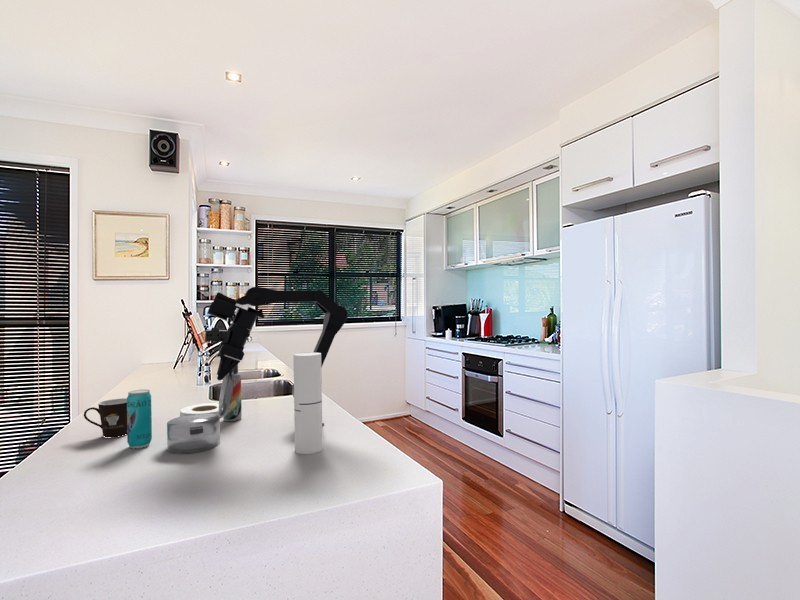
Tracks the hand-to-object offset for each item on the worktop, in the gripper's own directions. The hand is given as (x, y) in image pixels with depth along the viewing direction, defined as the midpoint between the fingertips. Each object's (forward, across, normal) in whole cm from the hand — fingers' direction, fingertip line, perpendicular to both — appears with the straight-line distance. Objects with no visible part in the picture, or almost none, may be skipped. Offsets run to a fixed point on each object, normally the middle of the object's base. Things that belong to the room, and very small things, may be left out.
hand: (218, 377), depth 125 cm
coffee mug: (+28, -18, -20) cm, 39 cm away
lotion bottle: (+14, -21, +11) cm, 28 cm away
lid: (+2, +3, +2) cm, 4 cm away
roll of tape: (+18, -32, +3) cm, 37 cm away
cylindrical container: (+7, +21, +27) cm, 35 cm away
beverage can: (+24, -2, -11) cm, 27 cm away
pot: (+19, +4, +1) cm, 19 cm away
